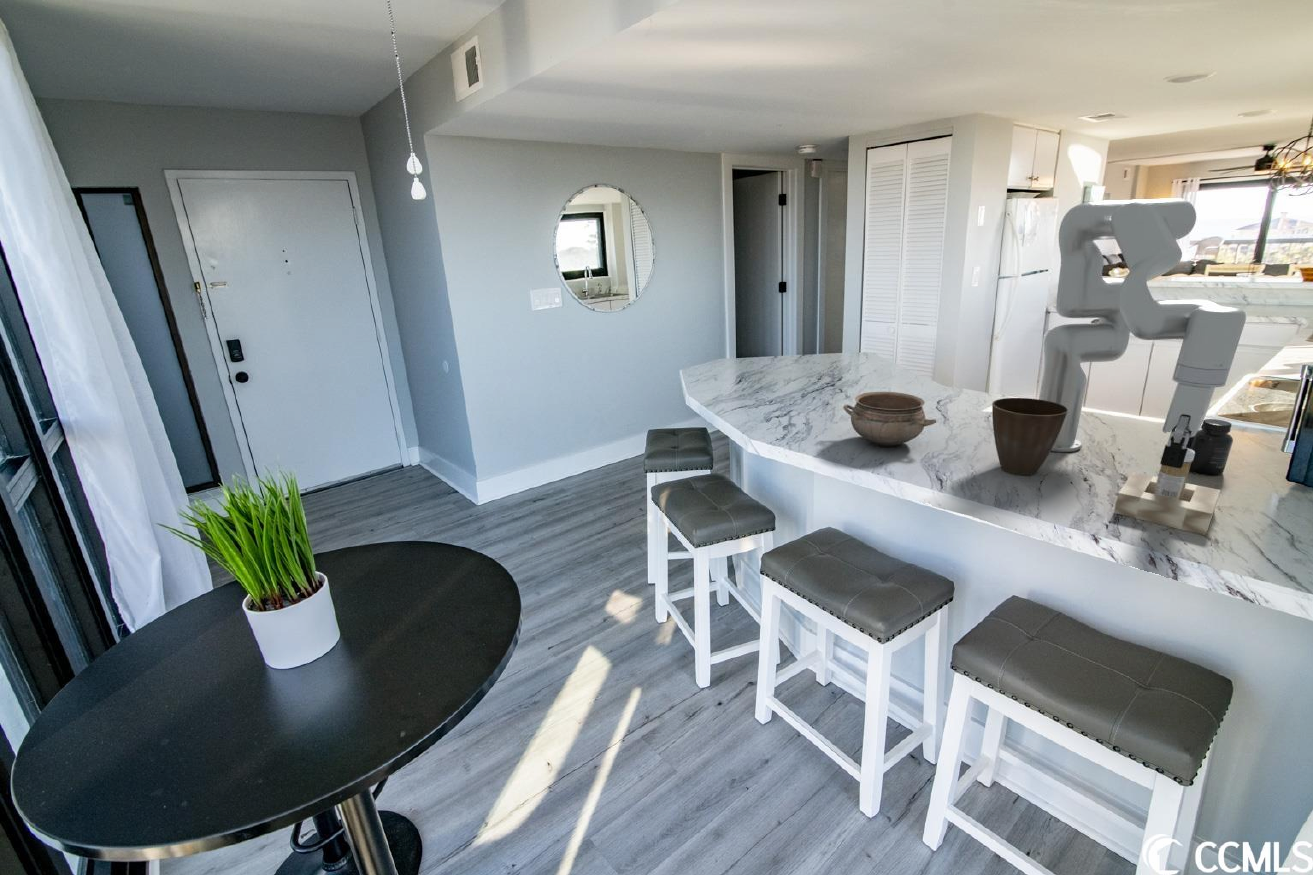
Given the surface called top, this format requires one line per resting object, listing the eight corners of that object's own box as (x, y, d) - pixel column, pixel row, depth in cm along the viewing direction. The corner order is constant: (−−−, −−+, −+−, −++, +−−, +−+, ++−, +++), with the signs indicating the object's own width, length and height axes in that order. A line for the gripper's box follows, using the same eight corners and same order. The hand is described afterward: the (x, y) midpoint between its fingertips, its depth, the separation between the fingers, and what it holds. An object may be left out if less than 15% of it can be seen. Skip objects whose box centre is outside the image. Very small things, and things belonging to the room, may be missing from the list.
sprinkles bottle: (1181, 511, 119) (1199, 449, 115) (1172, 518, 117) (1190, 454, 113) (1153, 503, 123) (1170, 443, 119) (1144, 510, 121) (1161, 448, 116)
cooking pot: (944, 442, 162) (949, 399, 158) (919, 463, 148) (924, 416, 144) (856, 425, 178) (859, 386, 174) (827, 443, 164) (829, 401, 160)
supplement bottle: (1175, 466, 141) (1189, 418, 137) (1202, 464, 141) (1216, 416, 137) (1203, 477, 134) (1218, 427, 130) (1231, 475, 135) (1246, 425, 131)
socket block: (1113, 512, 120) (1118, 492, 119) (1128, 491, 129) (1132, 472, 128) (1205, 535, 110) (1212, 513, 109) (1214, 510, 119) (1220, 490, 118)
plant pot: (971, 468, 144) (980, 405, 139) (1000, 454, 152) (1010, 393, 147) (1037, 487, 132) (1050, 419, 127) (1066, 470, 141) (1079, 406, 135)
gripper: (1181, 362, 119) (1158, 441, 125) (1166, 381, 108) (1142, 467, 114) (1232, 368, 113) (1205, 450, 120) (1221, 388, 103) (1193, 478, 109)
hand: (1174, 458), depth 117 cm, fingers open, 9 cm apart
